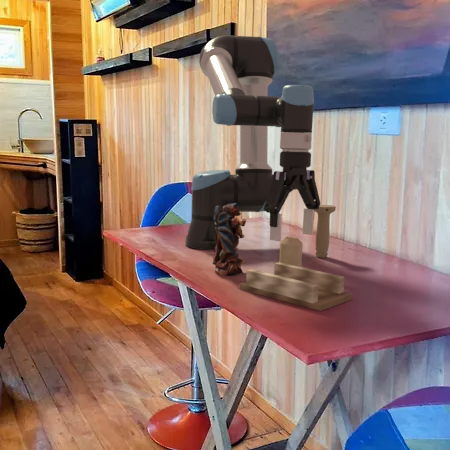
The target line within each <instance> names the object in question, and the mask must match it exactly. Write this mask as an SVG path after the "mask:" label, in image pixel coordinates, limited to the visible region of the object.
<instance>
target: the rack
mask: <svg viewBox="0 0 450 450" xmlns="http://www.w3.org/2000/svg"><path fill="white" fill-rule="evenodd" d="M273 271H274V272H273V273H269V272H266V271H261V270H257V269H254V268H253V269H252V268H251V269H248V270H246V279H245V280H246V281H245V282H240V283H239V289H240V290H242V291H247V292H249V293H253V294H256V295H261V296H264V297H268V298H271V299H272V298H273V299H275V300H278V301H279V300H280V301H283V302H286V303H290V304H293V305H297V306H301V307H304V308H308V309H312V310H314V311H319V312H322V311H326V310H327V309H330V308H332V307H335V306H337V305H340V304H342V303H345V302H348V301H351V300H352V295H353V294H352V293H348V292H344V290H345V276H342V275H339V274H334V273H329V272H325V271H320V270H315V269H311V268H306V267H302V266H301V267H298V266H294V265H289V264H285V263H280V262H276V263H274V269H273Z"/></svg>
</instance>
